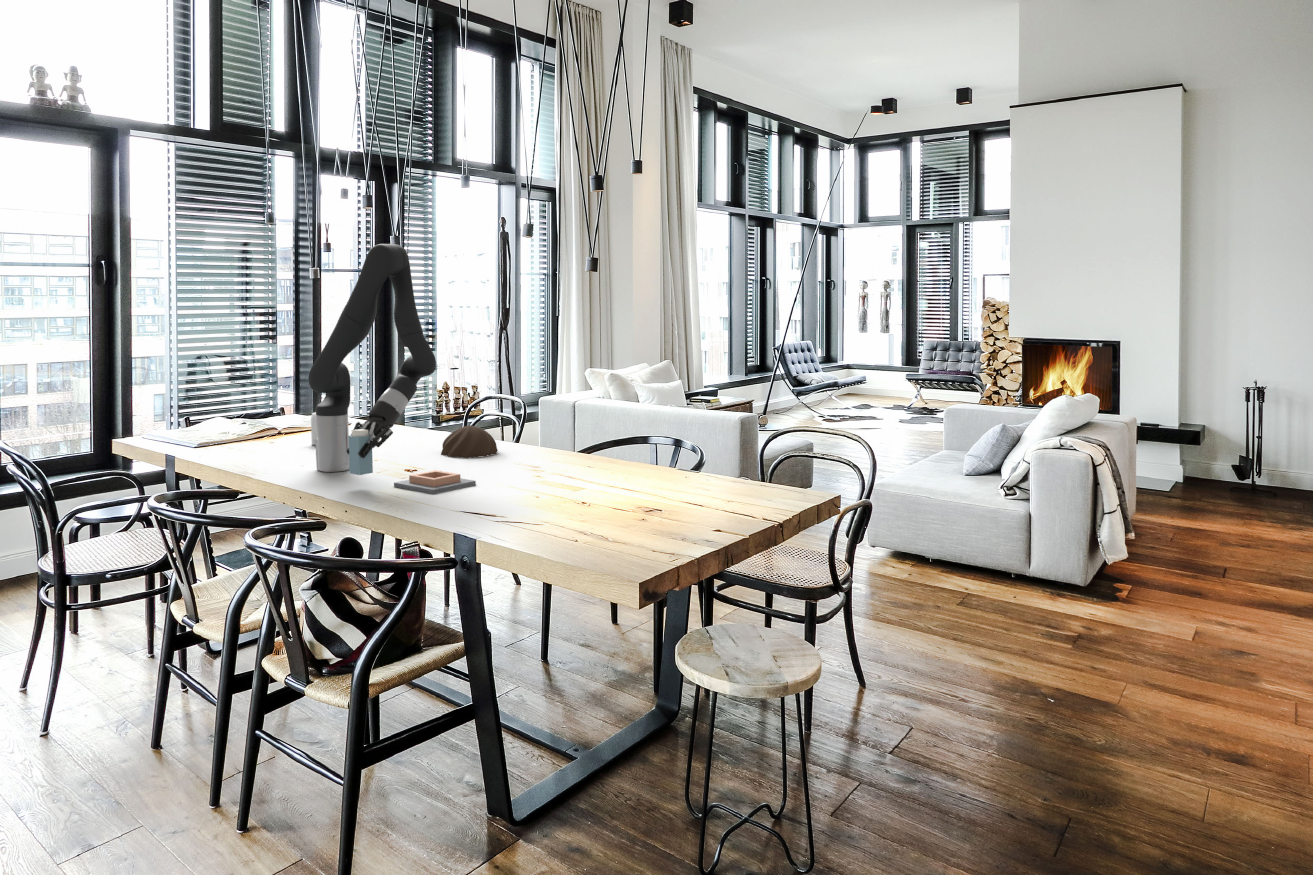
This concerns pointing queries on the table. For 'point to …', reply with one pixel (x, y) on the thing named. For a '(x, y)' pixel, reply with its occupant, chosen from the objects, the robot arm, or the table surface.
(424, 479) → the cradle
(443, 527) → the table surface
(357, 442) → the ball-topped blue post
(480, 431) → the decorative dome
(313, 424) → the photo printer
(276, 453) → the table surface
